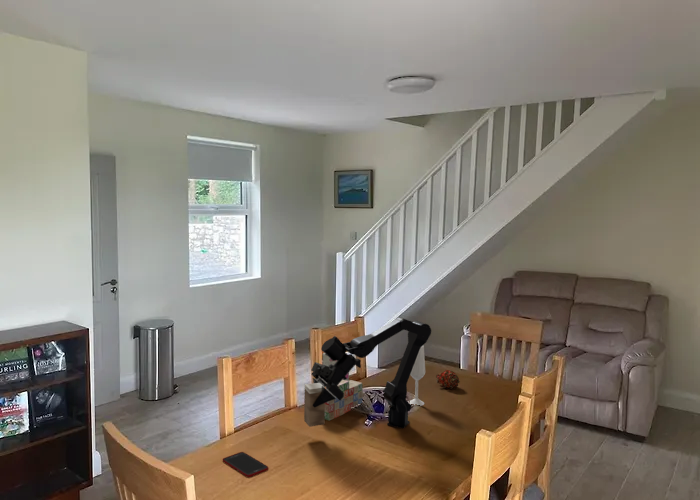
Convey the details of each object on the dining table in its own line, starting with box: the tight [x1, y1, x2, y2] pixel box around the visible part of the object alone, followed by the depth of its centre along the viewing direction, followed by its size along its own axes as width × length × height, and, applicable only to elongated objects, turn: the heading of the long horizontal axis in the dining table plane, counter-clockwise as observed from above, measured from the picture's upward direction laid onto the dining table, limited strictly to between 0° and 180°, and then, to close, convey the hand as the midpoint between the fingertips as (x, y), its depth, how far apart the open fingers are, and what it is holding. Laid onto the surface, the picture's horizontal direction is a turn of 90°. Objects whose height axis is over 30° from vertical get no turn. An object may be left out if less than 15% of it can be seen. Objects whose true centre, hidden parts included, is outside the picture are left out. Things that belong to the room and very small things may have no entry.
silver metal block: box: [303, 382, 326, 428], centre depth 184 cm, size 6×6×13 cm
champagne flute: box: [409, 345, 426, 407], centre depth 219 cm, size 7×7×24 cm
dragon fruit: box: [435, 369, 461, 390], centre depth 240 cm, size 8×8×12 cm
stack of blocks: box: [325, 379, 364, 421], centre depth 209 cm, size 21×6×12 cm, turn 143°
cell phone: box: [222, 451, 269, 478], centre depth 164 cm, size 8×15×1 cm, turn 45°
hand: (310, 403), depth 183 cm, fingers closed on silver metal block, 5 cm apart
